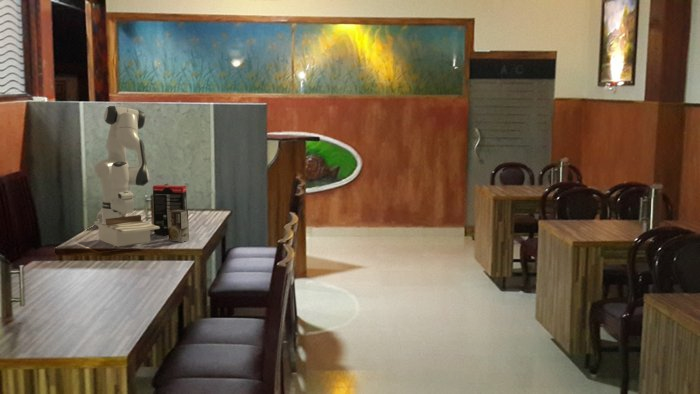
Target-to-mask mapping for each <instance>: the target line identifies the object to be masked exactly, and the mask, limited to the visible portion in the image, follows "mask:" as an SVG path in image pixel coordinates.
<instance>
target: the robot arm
mask: <svg viewBox="0 0 700 394" xmlns="http://www.w3.org/2000/svg"><path fill="white" fill-rule="evenodd" d="M103 117H104V121H105V123H106V124H108V125H110V126H109V130H108V135H107V139H106V144H105V147H106V149H107V153H108V157H107V159H102V160H100V161H99V162H97V163H95V165H94V168H93V170H94V174H95V175H96V177H97V178H98V179H99V181H100V185H101V190H102V200H103V201H102V203H101V205H102V206H101V209H100V210H99V212H98V213H97V214H96V216H95V218H96V221H93V224H94V225H95V226H96V227H98V224H104V223H106V219H110V218H118V217H126V216H128V215H129V214H132V213H134V209H135V208H134V206H135V205H134V198H135V194H134V193H133V192H132V191H131V189H130V188H131V187H130V186H141V187H143V186H145V185H147V183H149V182H150V174H149V173H150V172H149V169H148V163H147V162H148V161H147V157H146V149H145V145H144V142H143V139H142V138H139V135H138V134H139V133H138V131H139V130H141V129H142V128H144V125H145V123H146V114H145V112H144V111H142V110H139V109H134V108H130V107H124V106H116V105H109V106H107V107H106V109H105V110H104V113H103ZM127 149H128V150H131V151H133V152H135V153H136V154H137V161H138V165H137V166H130V164H129V162H128V161H127Z"/></svg>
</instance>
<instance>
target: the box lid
mask: <svg viewBox="0 0 700 394" xmlns="http://www.w3.org/2000/svg"><path fill="white" fill-rule="evenodd" d="M106 227H108V228H111V229H114V230H117V231H120V232H122V233H131V232H138V231H146V230H150V231H152V230H153V231H154V229H160V227H159V226H156V225H154V224H152V223H150V222H145V221H143V220H142V215H141V214H137V215H136V214H135V215H127V216H126V217H118V218H110V219H106Z"/></svg>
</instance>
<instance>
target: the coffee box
mask: <svg viewBox="0 0 700 394" xmlns="http://www.w3.org/2000/svg"><path fill="white" fill-rule="evenodd" d="M167 218H168V240H169V241H178V242H177V243H185V242H184V241H186V242H189V241H190V231H189V224H190V223H189V210H188V209H187V210H176V209H174V210H170V211H167ZM188 240H189V241H188Z"/></svg>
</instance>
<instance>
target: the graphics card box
mask: <svg viewBox="0 0 700 394" xmlns="http://www.w3.org/2000/svg"><path fill="white" fill-rule="evenodd" d="M187 196H188V195H187V185H170V184H169V185H167V184H166V185H165V184H160V185H159V184H156V185H152V202H153V225H156V226H159V227H160V229H153V234H154V235H156V236H168V218H167V211H170V210H174V209H176V210H188V209H187V208H188V207H187V206H188V205H187V203H188V202H187V201H188V200H187Z"/></svg>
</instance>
